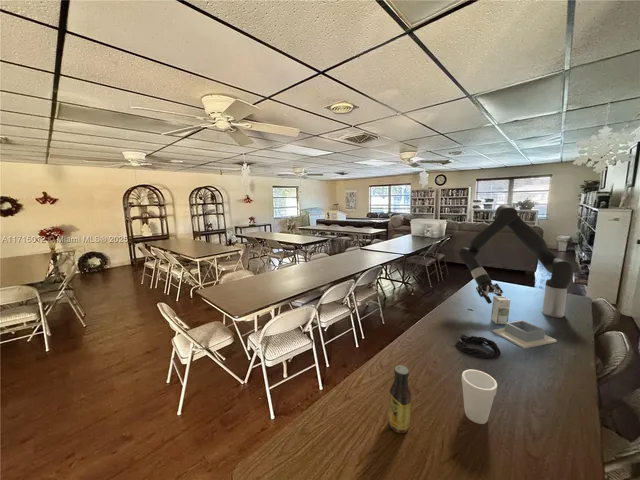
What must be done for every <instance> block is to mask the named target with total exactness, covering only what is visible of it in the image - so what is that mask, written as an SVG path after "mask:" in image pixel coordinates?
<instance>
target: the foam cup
mask: <svg viewBox="0 0 640 480" xmlns="http://www.w3.org/2000/svg"><path fill="white" fill-rule="evenodd" d="M461 383H462V385H461V386H462V394H463V395H462V396H463V407H464V414H465V416H466V418H467V419H468V420H470V421H472V422H474V423H476V424H480V425H485V424H487V422H488V420H489V417H490V414H491V410H492V406H493V402H494V400H495V396H496V395H497V390H498V383H497V381H496V379H495V378H493V377H492V376H491V375H490V374H488V373H485V372H484V371H481V370H478V369H466V370H464V371H462V374H461Z"/></svg>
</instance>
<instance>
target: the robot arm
mask: <svg viewBox="0 0 640 480" xmlns="http://www.w3.org/2000/svg"><path fill="white" fill-rule="evenodd" d="M518 213H519V212H518V211H517V209H516V208H514V207H513V206H512V205H509V204H501V205H499V206H498V207H497V208H496V210H495V216H496V218H495V219H494V220H493V221H492V223H490V224H489V225H488V226H486V227H485V228H484V229H482V230H481V231H479V232H478V233H477V234H476V235H475V236H474V237H473V238H472V239H471V240H470V245H469V246H468V247H461V248H459V250H458V256H459V258H460V260H462V262H463V263H464V265H466V266H467V268H468V269H469V272H470V273H471V276H472V278H473V280H475V282H476V284H477V286H476V287H475V290H476V291H477V292H476V293H477V294H478V295H479V297H480V298H484V300H485V301H486V303H487V304H491V303H492V304H493V300H491V298H490V296H489V293H492V294H493V295H494V296H503V295H502V294H503V293H504V291H503V289H502V288H501V287H500V285H499V284H498V283H494V284H493V283H492V281H493V280H492V279H491V278H490V276H489V274H488V273H487V271H486V270H485V269H484V267H483V265H482V264H481V262H480V261H479V260H478V259H476V257H477V255H478V253H480V251H481V249H482V248H483V247H484V246H486V244H487V243H488V242H489V241H490V240H492V238H493V237H494V236H496V235H497V234H498V233H499V232H501V230H503V229H504V228H505V227H509V229H510V230H511V231H512V232H513V234H514V235H515V237H516V238H517V239H518V240H519V241H520V244H521V243H522V245H523V246H524V247H525V248H526V249H527V250H528V251H529V252H530V253H531V254H533V256H534V257H536V259H538V261H539V262H540V263H541V264H542V266H543V267H544V268H545V270H546V271H547V272H548V273H550V274H551V277H550V279H547V280H546V281H545V286H544V287H545V288H544V294H543V295H544V296H543V302H542V303H543V304H542V311H541V312H542V314H544V315H545V316H548V317H552V318H559V319H560V318H564V316H565V314H566V304H567V298H566V297H567V292H568V291H567V290H568V286H569V284H570V283H571V280H572V275H573V265H572V263H570V262H569V261H567V260H565V259H562V258H559V257H557V256H556V255H555V254H554V253H553V252H552V251H551V250H550V248H549V247H548V245H547V243H546V241H545V239H544V238H543V237H542V235H540V233H538V231H536V230H535V229H534V228H533V227H531V225H529V224H528V223H527V222H525V221H524V220H523V219H522V218H521V217H520V216H519V214H518Z"/></svg>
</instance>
